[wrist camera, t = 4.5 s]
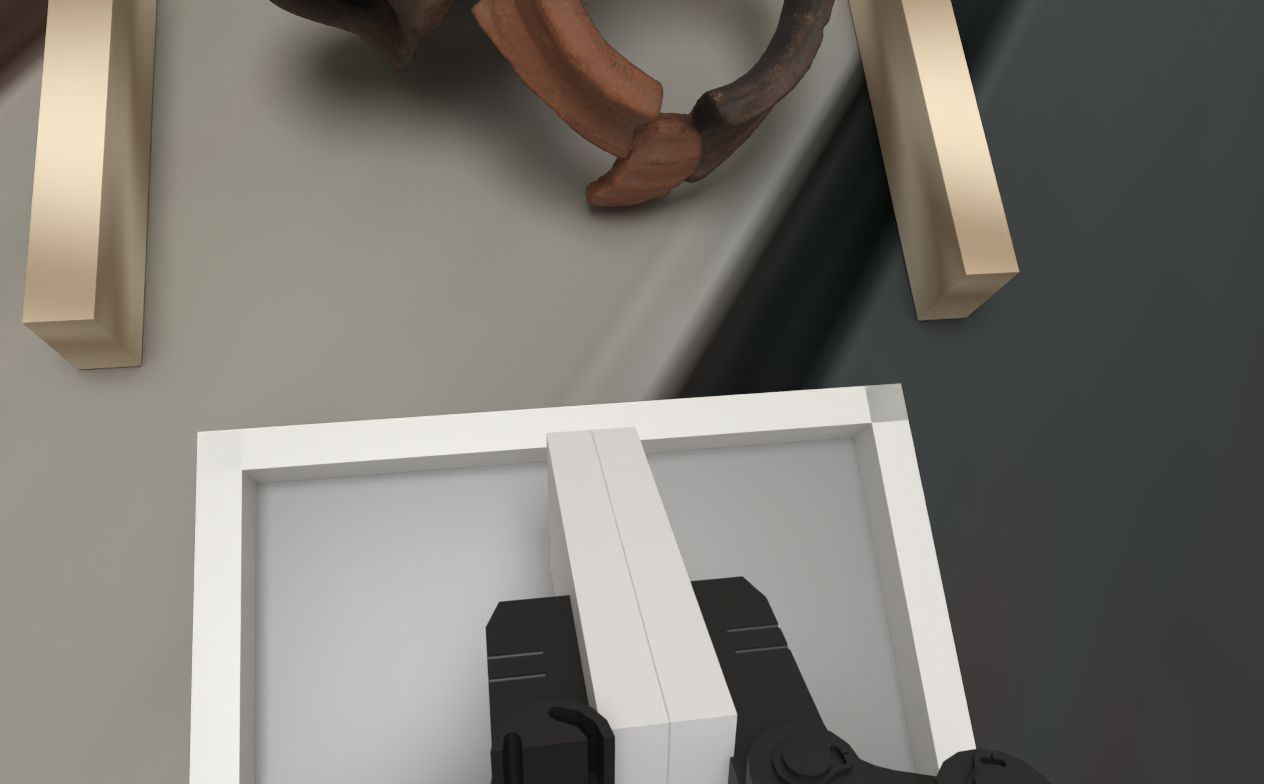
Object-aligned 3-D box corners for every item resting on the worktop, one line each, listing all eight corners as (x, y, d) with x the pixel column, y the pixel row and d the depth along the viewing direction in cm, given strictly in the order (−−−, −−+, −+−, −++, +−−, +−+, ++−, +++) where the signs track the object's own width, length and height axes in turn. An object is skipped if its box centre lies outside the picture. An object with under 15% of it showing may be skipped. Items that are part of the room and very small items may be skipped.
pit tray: (971, 895, 19) (1009, 910, 18) (209, 1016, 17) (183, 1043, 15) (874, 405, 22) (901, 383, 21) (219, 452, 20) (197, 431, 18)
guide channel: (965, 317, 23) (1019, 271, 21) (78, 369, 20) (22, 323, 18) (857, -148, 27) (891, -230, 25) (111, -164, 24) (70, -259, 22)
